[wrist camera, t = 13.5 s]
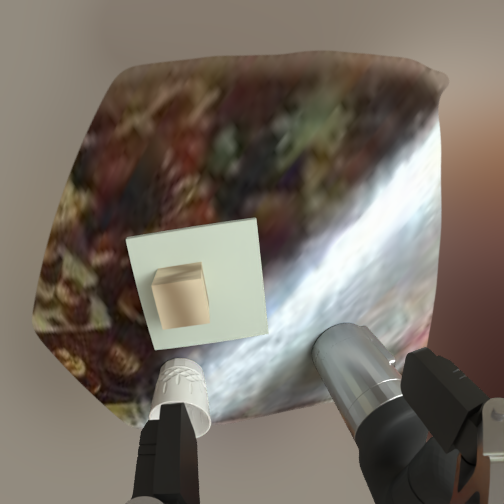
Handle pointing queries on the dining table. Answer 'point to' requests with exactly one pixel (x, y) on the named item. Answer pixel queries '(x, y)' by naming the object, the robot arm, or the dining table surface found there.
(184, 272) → the beech cube
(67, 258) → the dining table surface
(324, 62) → the dining table surface
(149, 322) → the sage board
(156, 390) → the white cup
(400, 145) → the dining table surface
